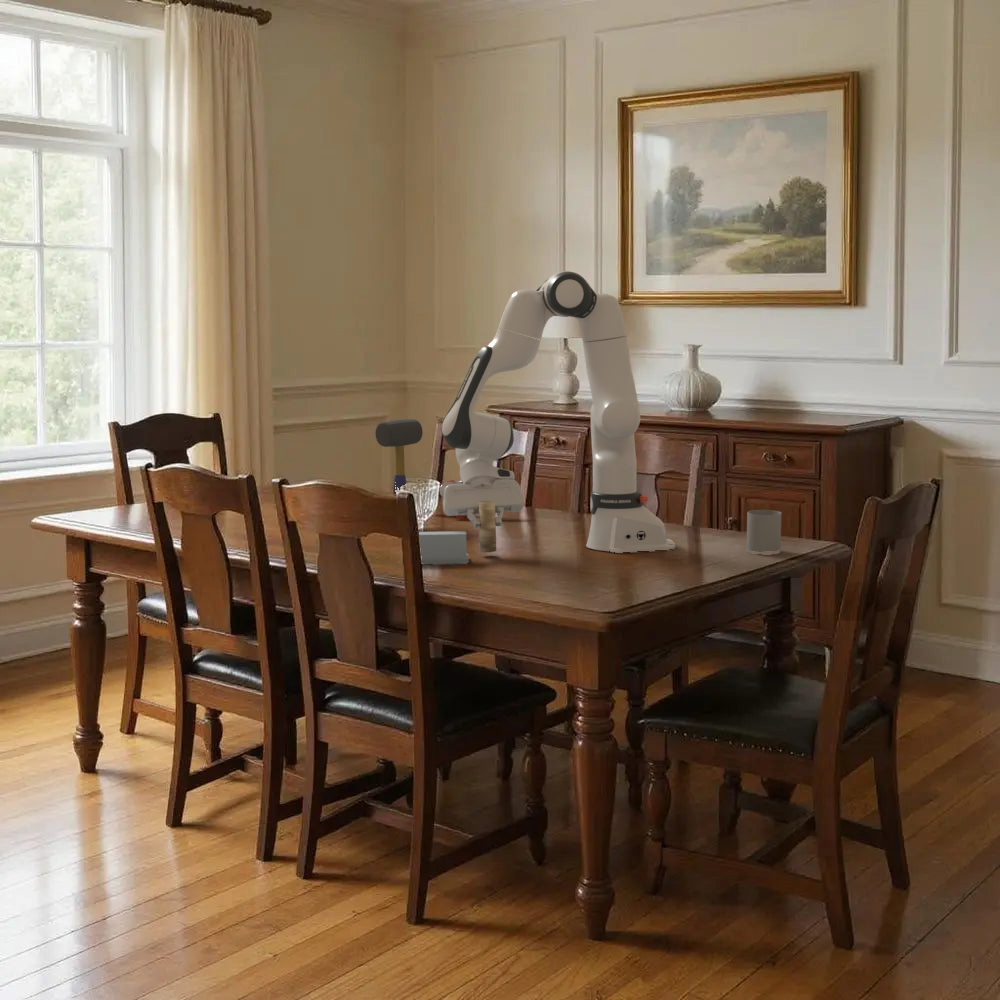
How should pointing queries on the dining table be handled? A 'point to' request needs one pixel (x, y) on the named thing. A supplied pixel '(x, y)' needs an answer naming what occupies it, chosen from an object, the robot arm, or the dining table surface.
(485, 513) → the dowel
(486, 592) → the dining table surface
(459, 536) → the gray rectangular block
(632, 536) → the robot arm
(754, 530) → the cup
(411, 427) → the rubber mallet
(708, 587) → the dining table surface
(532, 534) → the dining table surface
